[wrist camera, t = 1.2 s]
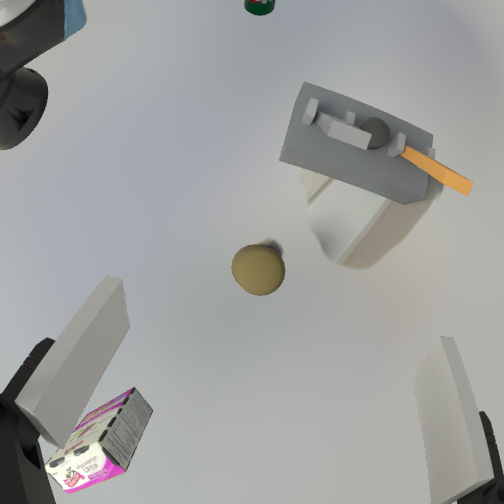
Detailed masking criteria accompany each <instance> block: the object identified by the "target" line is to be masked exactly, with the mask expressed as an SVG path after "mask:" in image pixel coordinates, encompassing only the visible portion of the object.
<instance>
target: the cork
mask: <svg viewBox="0 0 504 504" xmlns="http://www.w3.org/2000/svg"><path fill="white" fill-rule="evenodd" d="M232 274H233V276H234V278H235V280H236V281H237V282H238V283H239V284H240V286H241V287H242V288H243V289H244V290H245V291H247V292H249V293H251V294H253V295H259V296H262V295H268V294H270V293H272V292H274V291H275V290H276V289H277V288H278V287H279V286H280V285H281V284H282V282H283V280H284V276H285V266H284V262H283V260H282V258H281V256H280V255H279V254H278V253H277V252H276V251H275V250H273V249H271V248H269V247H265V246H260V245H248V246H246V247H244V248H242V249H240V250H239V251H238V252H237V253H236V255H235V257H234V259H233V261H232Z"/></svg>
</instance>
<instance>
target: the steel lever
mask: <svg viewBox="0 0 504 504" xmlns="http://www.w3.org/2000/svg"><path fill="white" fill-rule="evenodd" d="M314 121H315V123H316V124H317V125H319V126H320V127H321V128H322V129H323V130H324V133H325V134H326V135H327V136H329V137H332V138H335V139H337V140H340V141H343V142H346V143H348V144H351V145H354V146H356V147H359V148H362V149H364V150H366V149H367V146H368V144H369V141H370V138H371V135H372V134H370V133H368V132H366V131H364V130H362V129H360V128H358V127H356V126H354V125H352V124H350V123H348V122H346V121H344V120H342V119H340V118H337V117H334V116H331V115H329V114H326V113H323V112H320V111H318V112H316V114H315V117H314Z"/></svg>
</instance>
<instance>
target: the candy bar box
mask: <svg viewBox="0 0 504 504" xmlns="http://www.w3.org/2000/svg"><path fill="white" fill-rule="evenodd" d="M152 412H153V410H152V408H151V407H150V405H149V404H148V403H147V402H146V401H145V400H144V399H143V397H142V396H141V394H140V393H139V392H138V391H137V389H136V388H135V387H133V388H132V389H130V390H128V391H127V392H125V393H123V394H122V395H120V396H118V397H116V398H115V399H113V400H111V401H110V402H108V403H106V404H105V405H103V406H101V407H99V408H98V409H96V410H94V411H92V412H90V413H89V414H87V415H86V416H85V418H84V419H83V420H82V421H81V422H80V424H79V425H78V426H77V427H76V428H75V430H74V431H73V432H72V434H71V436H70V438H69V440H68V441H67V443H66V446H65V448H64V450H62V449H60V448H59V449H58V450H57V451H56V453H55V454H54V455H53V456H52V457H51V458H50V460H49V461H48V462H47V463H46V465H45V469H46V472H48V474H49V475H50V476H51V477H52V478H53V479H54V480H55V481H56V482H57V483H58V484H59V485H61V488H62V489H63V490H64V491H66V492H67V493H68V494H71V493H73V492H76V491H79V490H82V489H84V488H87V487H90V486H92V485H95V484H98V483H100V482H103V481H106V480H108V479H111V478H113V477H116V476H118V475H121V474H123V473H126V471H127V469H128V466H129V464H130V461H131V459H132V457H133V455H134V453H135V450H136V448H137V446H138V443H139V441H140V438H141V436H142V434H143V432H144V430H145V427H146V425H147V423H148V421H149V419H150V417H151V414H152Z"/></svg>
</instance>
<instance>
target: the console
mask: <svg viewBox="0 0 504 504" xmlns="http://www.w3.org/2000/svg"><path fill="white" fill-rule="evenodd" d="M318 111H320V112H323V113H326V114H329V115H331V116H334V117H337V118H340V119H342V120H344V121H346V122H348V123H350V124H352V125H354V126H356V127H358V128H359V127H360V126H361V125H362V124H363V123H364V122H365V121H366V120H367V119H369V118H371V117H376V118H380V119H381V120H383V121H384V122H385V123H386V124H387V125H388V127H389V130H390V138H389V140H388V141H387V142H386V143H385V144H383V145H382V146H380V147H379V148H378V149H375V150H370V149H366V150H364V149H362V148H359V147H356V146H354V145H351V144H348V143H346V142H343V141H340V140H337V139H335V138H332V137H329V136H327V135H326V134H325V133H324V130H323V129H322V128H321V127H320V126H319V125H317V124H316V123H315V121H314V117H315V114H316V112H318ZM432 140H433V135H432V134H430V133H428V132H426V131H424V130H422V129H420V128H418V127H416V126H414V125H412V124H410V123H408V122H406V121H403V120H401V119H399V118H397V117H395V116H393V115H390V114H388V113H386V112H383V111H381V110H379V109H376V108H374V107H372V106H369V105H367V104H364V103H362V102H359V101H357V100H354V99H352V98H349V97H346V96H344V95H341V94H338V93H336V92H333V91H330V90H327V89H324V88H321V87H319V86H316V85H312V84H309V83H307V82H304V83H303V85H302V88H301V90H300V92H299V94H298V97H297V99H296V102H295V105H294V109H293V112H292V116H291V120H290V124H289V127H288V130H287V134H286V137H285V141H284V145H283V148H282V152H281V155H280V159H279V161H282V162H285V163H289V164H292V165H295V166H298V167H301V168H305V169H308V170H311V171H314V172H317V173H320V174H323V175H326V176H329V177H332V178H335V179H337V180H340V181H343V182H346V183H349V184H352V185H354V186H357V187H360V188H363V189H365V190H368V191H371V192H373V193H376V194H379V195H381V196H384V197H386V198H389V199H392V200H394V201H397V202H399V203H402V204H404V205H405V204H408V203H411V202H415V201H418V200H422V199H425V196H426V190H427V183H428V176H429V173H427V172H426V171H424V170H423V169H421V168H420V167H418V166H417V165H415V164H413V163H412V162H410V161H409V160H407V159H406V158H404V157H403V156H401V155H400V153H402V152H404V145H406V146H408V147H410V148H413V149H415V150H417V151H419V152H421V153H423V154H425V155H427V156H428V157H430V158H432V159H434V157H435V149H433V148H432Z"/></svg>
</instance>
